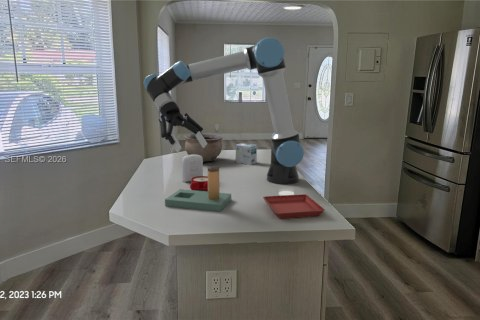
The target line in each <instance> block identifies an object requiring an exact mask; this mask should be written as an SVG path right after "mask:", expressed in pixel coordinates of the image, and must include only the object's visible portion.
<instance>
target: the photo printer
mask: <svg viewBox="0 0 480 320" xmlns="http://www.w3.org/2000/svg"><path fill="white" fill-rule="evenodd" d="M203 163H204V162H203V158H202V156H200V155H188V154H187V155H185V156H183V157H182V159H181V179H182V182H184V183H186V182H191V179H192V178H193V177H197V176H204V175H203V174H204V169H203V166H204V164H203Z"/></svg>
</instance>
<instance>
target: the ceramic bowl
mask: <svg viewBox="0 0 480 320" xmlns="http://www.w3.org/2000/svg"><path fill="white" fill-rule="evenodd" d="M201 133H202V135H203V136H204V139H205V141H206V142H207V145H206V146H205V147H204V148H203V147H202V146H201V144H200V143H199V141H198V139H197V138H196V136H195V135H196V134H195V133H190V134H189V136H188V135H184V138H185V144H184V149H185V152H186V154H187V156H188V155H200V156H202V158H203V163H204V162H211V161H214V160H216V159H217V157H219V156H220V154H221V153H222V150H223V143H222V140H223V138H224V137H223V135H220V134H217V133H208V132H207V133H204V132H201Z"/></svg>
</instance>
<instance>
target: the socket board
mask: <svg viewBox="0 0 480 320" xmlns="http://www.w3.org/2000/svg"><path fill="white" fill-rule="evenodd" d="M230 201H232V193H225V192H219V199H216V200H211V199H208V191H205V190H198V191H195V190H191V189H183V188H180V189H178V190H177V191H175V192H174V193H173V194H171V195H169V196H168V197H166V198H165V199H164V206H165V207H174V208H183V209H184V208H186V209H193V210H194V209H195V210H203V211H210V212H211V211H213V212H222V210H223V209H224V208H225V207H226V206H228V204H229V203H230Z"/></svg>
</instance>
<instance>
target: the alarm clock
mask: <svg viewBox="0 0 480 320" xmlns="http://www.w3.org/2000/svg"><path fill="white" fill-rule="evenodd" d="M190 182H191V183H190V186H189V188H190V190H195V191H206V192H208V175H203V176H197V177H193V178H192V179H191V181H190Z"/></svg>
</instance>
